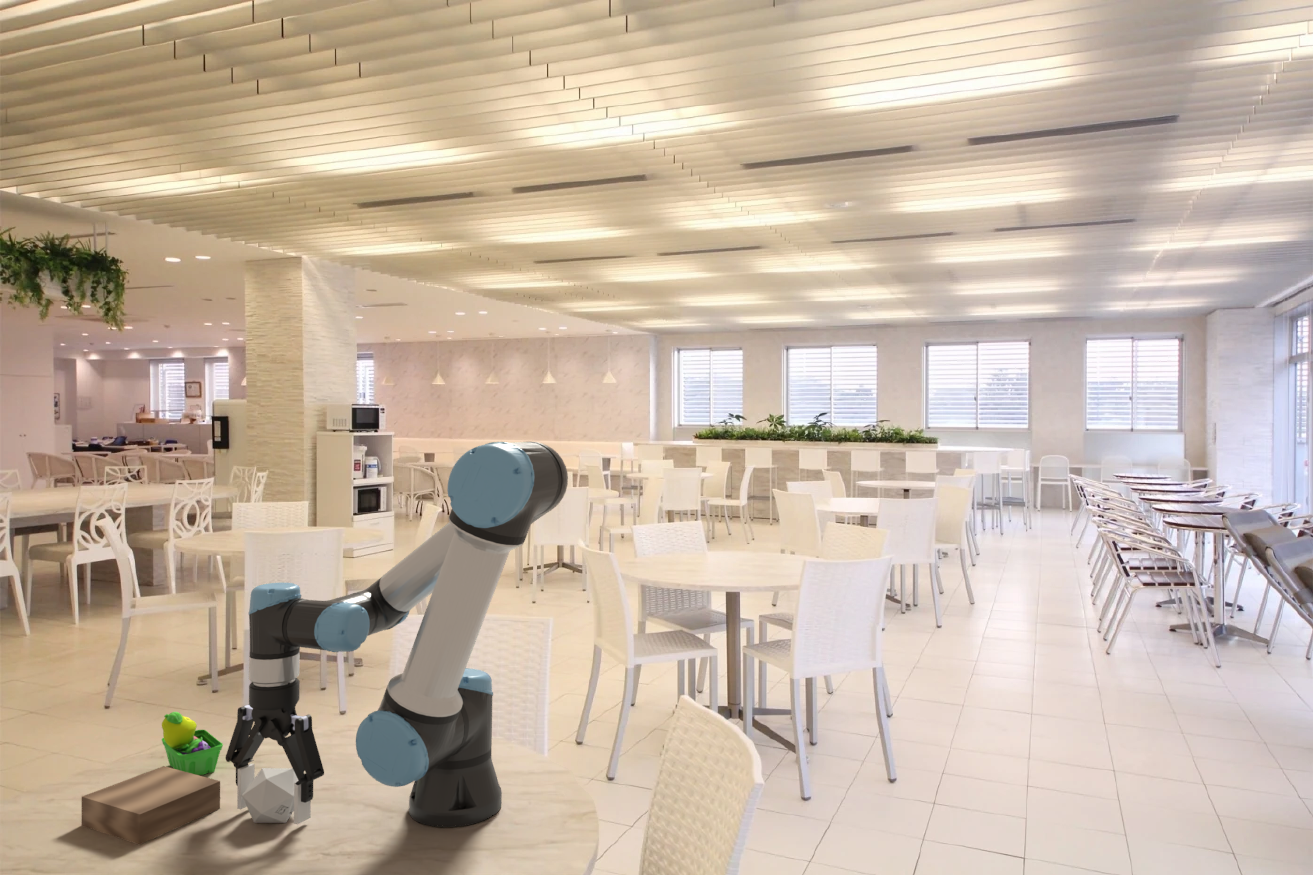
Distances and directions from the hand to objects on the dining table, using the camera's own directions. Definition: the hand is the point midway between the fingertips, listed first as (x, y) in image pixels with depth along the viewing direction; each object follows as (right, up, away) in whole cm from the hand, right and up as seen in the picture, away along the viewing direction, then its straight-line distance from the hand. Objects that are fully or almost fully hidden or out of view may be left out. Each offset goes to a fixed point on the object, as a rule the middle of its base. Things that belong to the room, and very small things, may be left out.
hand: (273, 813), depth 143 cm
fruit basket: (-24, 0, +20) cm, 31 cm away
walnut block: (-20, -1, 0) cm, 20 cm away
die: (0, -1, 0) cm, 1 cm away
